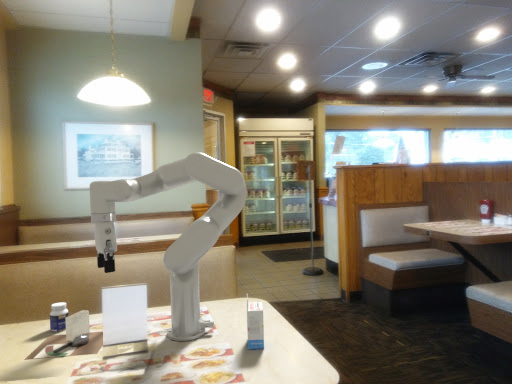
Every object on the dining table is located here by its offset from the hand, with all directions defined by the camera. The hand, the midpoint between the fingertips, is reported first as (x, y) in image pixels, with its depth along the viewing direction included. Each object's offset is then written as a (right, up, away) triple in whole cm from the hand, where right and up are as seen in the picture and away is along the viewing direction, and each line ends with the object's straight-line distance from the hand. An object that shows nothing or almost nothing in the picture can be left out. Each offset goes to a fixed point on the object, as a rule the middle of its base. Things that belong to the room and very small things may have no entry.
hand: (106, 269), depth 122 cm
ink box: (+50, -21, -8) cm, 55 cm away
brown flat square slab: (-8, -23, -7) cm, 25 cm away
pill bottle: (-18, -23, +6) cm, 30 cm away
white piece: (-7, -21, -9) cm, 24 cm away
